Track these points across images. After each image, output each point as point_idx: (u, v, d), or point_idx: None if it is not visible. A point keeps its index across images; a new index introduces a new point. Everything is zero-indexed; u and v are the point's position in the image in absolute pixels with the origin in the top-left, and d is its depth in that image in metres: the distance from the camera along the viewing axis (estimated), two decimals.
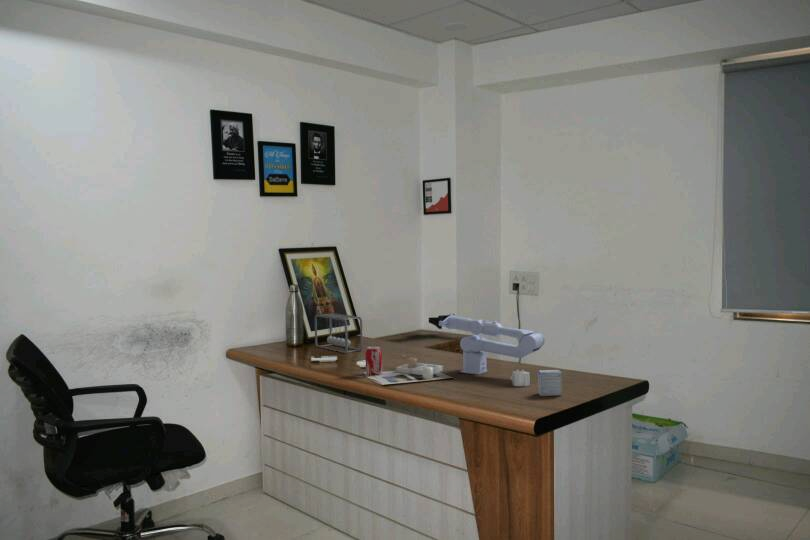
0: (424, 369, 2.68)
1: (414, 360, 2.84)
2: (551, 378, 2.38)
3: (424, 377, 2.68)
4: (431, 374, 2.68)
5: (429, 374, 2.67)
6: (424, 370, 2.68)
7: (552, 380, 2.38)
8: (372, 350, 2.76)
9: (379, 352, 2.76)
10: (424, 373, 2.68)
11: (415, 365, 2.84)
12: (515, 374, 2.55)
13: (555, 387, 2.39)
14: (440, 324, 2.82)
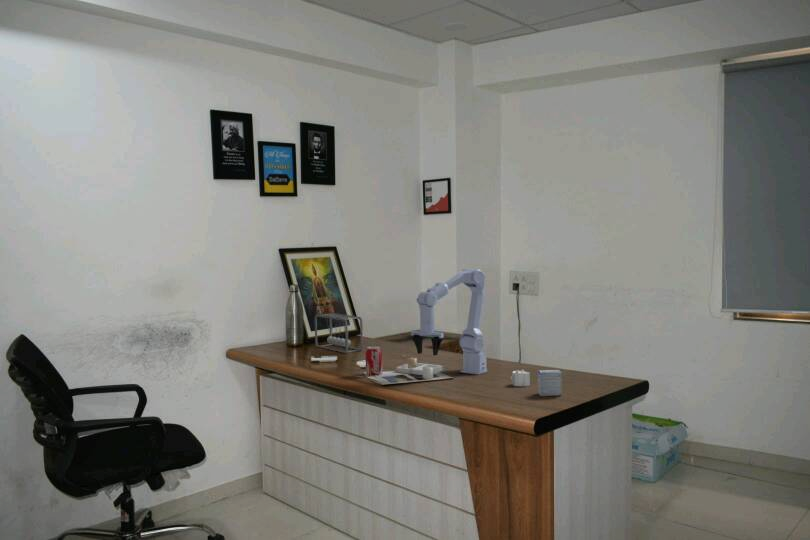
0: (424, 369, 2.68)
1: (414, 360, 2.84)
2: (551, 378, 2.38)
3: (424, 377, 2.68)
4: (431, 374, 2.68)
5: (429, 374, 2.67)
6: (424, 370, 2.68)
7: (552, 380, 2.38)
8: (372, 350, 2.76)
9: (379, 352, 2.76)
10: (424, 373, 2.68)
11: (415, 365, 2.84)
12: (515, 374, 2.55)
13: (555, 387, 2.38)
14: (442, 335, 2.64)
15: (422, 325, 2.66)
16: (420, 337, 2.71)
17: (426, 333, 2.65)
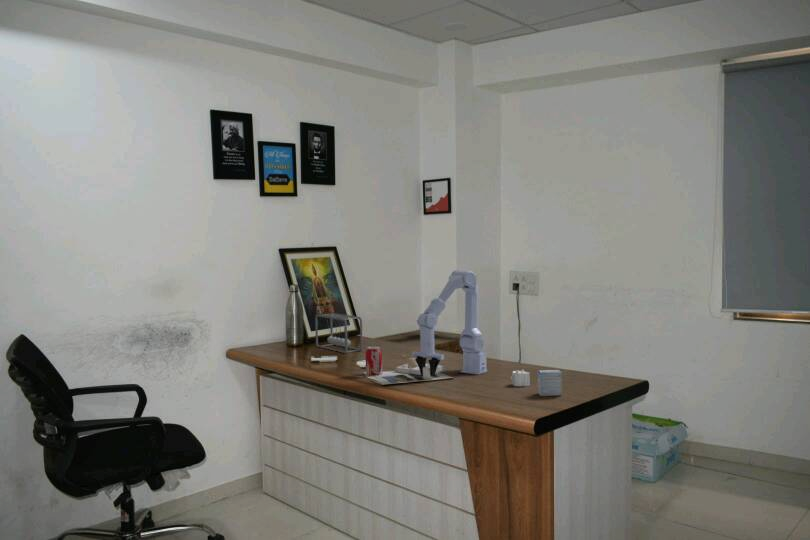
0: (424, 369, 2.68)
1: (414, 360, 2.84)
2: (551, 378, 2.38)
3: (424, 377, 2.68)
4: None
5: (429, 373, 2.67)
6: (424, 370, 2.68)
7: (552, 380, 2.38)
8: (372, 350, 2.76)
9: (379, 352, 2.76)
10: (424, 373, 2.68)
11: (415, 365, 2.84)
12: (515, 374, 2.55)
13: (555, 387, 2.38)
14: (443, 357, 2.65)
15: (422, 347, 2.67)
16: (423, 359, 2.71)
17: (426, 355, 2.66)
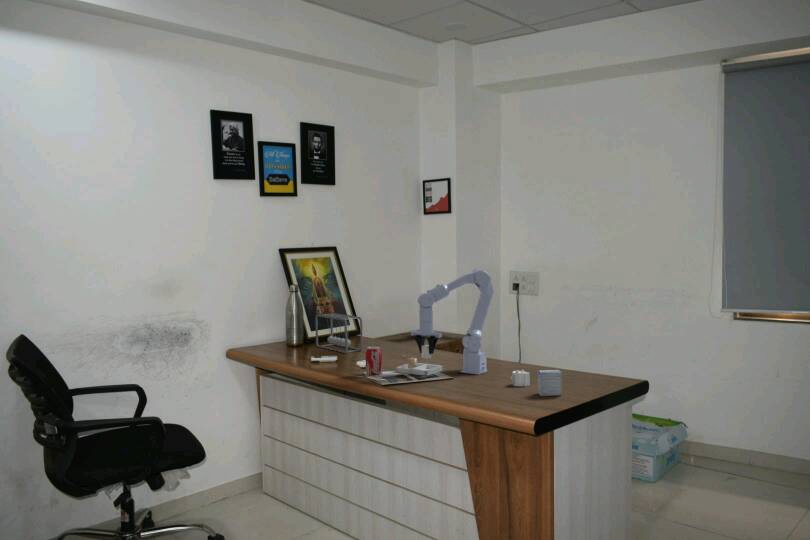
0: (423, 347, 2.78)
1: (414, 360, 2.84)
2: (551, 378, 2.38)
3: (423, 355, 2.78)
4: None
5: (428, 351, 2.77)
6: (423, 348, 2.78)
7: (552, 380, 2.38)
8: (372, 350, 2.76)
9: (379, 352, 2.76)
10: (423, 351, 2.78)
11: (415, 365, 2.84)
12: (515, 374, 2.55)
13: (555, 387, 2.39)
14: (441, 335, 2.75)
15: (421, 325, 2.77)
16: (422, 337, 2.81)
17: (425, 333, 2.76)
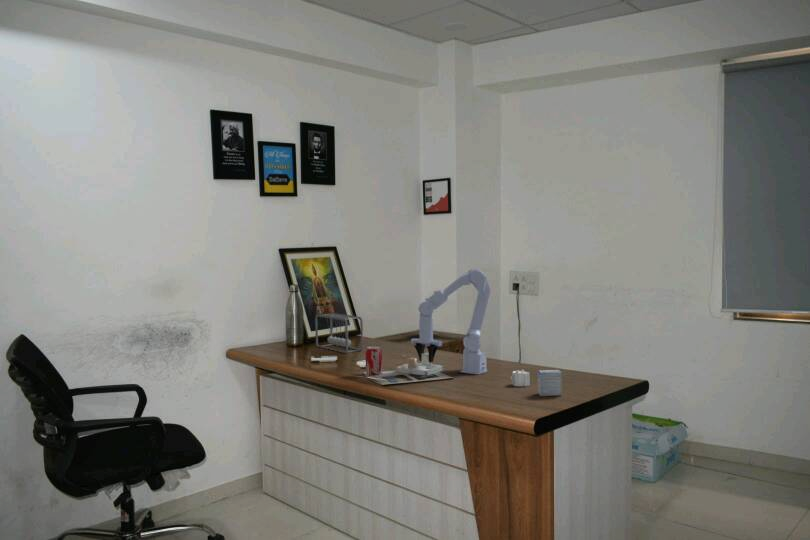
0: (423, 355, 2.80)
1: (414, 360, 2.84)
2: (551, 378, 2.38)
3: (423, 363, 2.80)
4: None
5: (428, 359, 2.79)
6: (423, 356, 2.80)
7: (552, 380, 2.38)
8: (372, 350, 2.76)
9: (379, 352, 2.76)
10: (423, 359, 2.80)
11: (415, 365, 2.84)
12: (515, 374, 2.55)
13: (555, 387, 2.38)
14: (441, 343, 2.77)
15: (421, 334, 2.79)
16: (422, 345, 2.83)
17: (425, 341, 2.78)
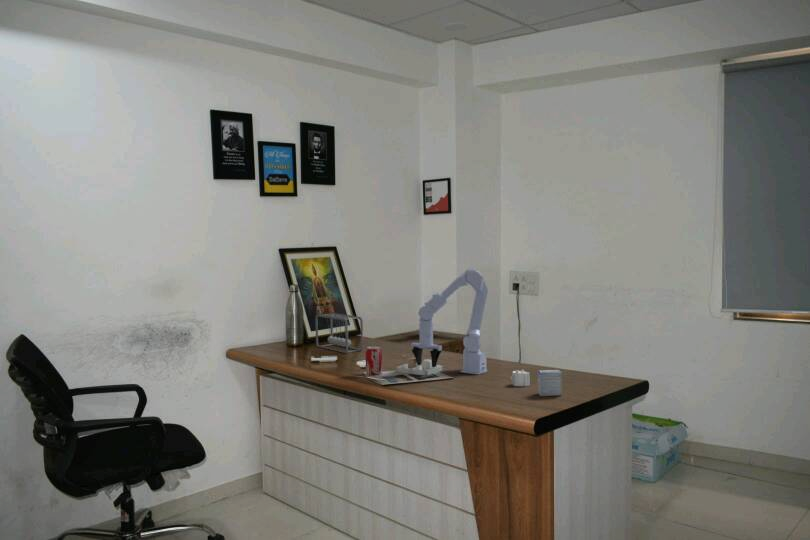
0: (423, 362, 2.80)
1: (414, 360, 2.84)
2: (551, 378, 2.38)
3: (423, 369, 2.80)
4: (430, 366, 2.80)
5: (428, 366, 2.79)
6: (423, 363, 2.80)
7: (552, 380, 2.38)
8: (372, 350, 2.76)
9: (379, 352, 2.76)
10: (423, 365, 2.80)
11: (415, 365, 2.84)
12: (515, 374, 2.55)
13: (555, 387, 2.38)
14: (441, 348, 2.77)
15: (421, 338, 2.79)
16: (419, 349, 2.84)
17: (425, 346, 2.78)
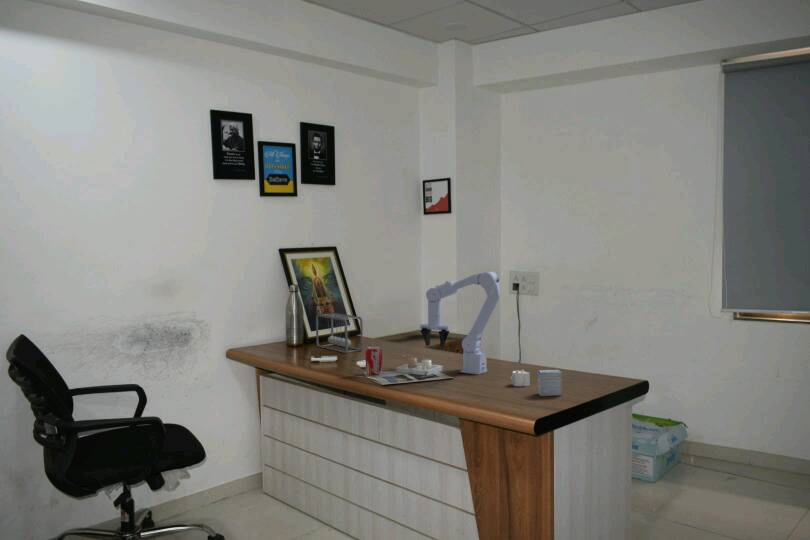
0: (423, 362, 2.80)
1: (414, 360, 2.84)
2: (551, 378, 2.38)
3: (423, 369, 2.80)
4: (430, 366, 2.80)
5: (428, 366, 2.79)
6: (423, 363, 2.80)
7: (552, 380, 2.38)
8: (372, 350, 2.76)
9: (379, 352, 2.76)
10: (423, 365, 2.80)
11: (415, 365, 2.84)
12: (515, 374, 2.55)
13: (555, 387, 2.38)
14: (449, 328, 2.84)
15: (430, 319, 2.85)
16: (428, 330, 2.90)
17: (434, 326, 2.85)
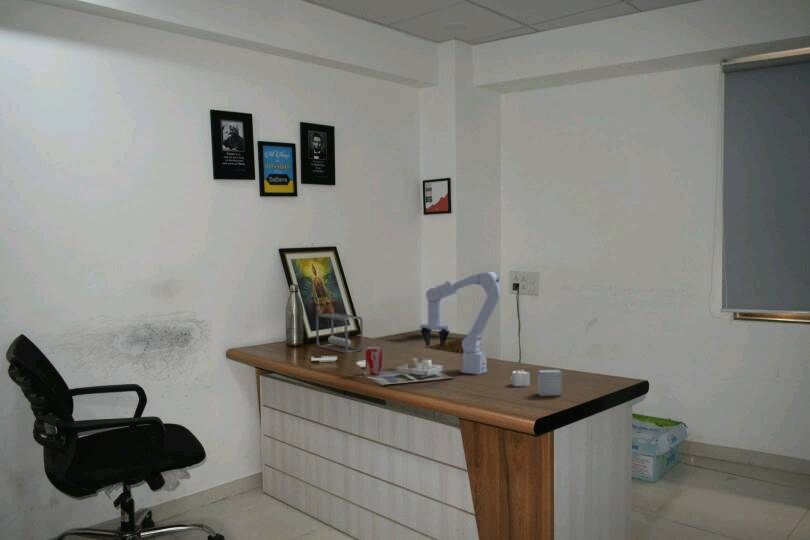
0: (423, 362, 2.80)
1: (414, 360, 2.84)
2: (551, 378, 2.38)
3: (423, 369, 2.80)
4: (430, 366, 2.80)
5: (428, 366, 2.79)
6: (423, 363, 2.80)
7: (552, 380, 2.38)
8: (372, 350, 2.76)
9: (379, 352, 2.76)
10: (423, 365, 2.80)
11: (415, 365, 2.84)
12: (515, 374, 2.55)
13: (555, 387, 2.39)
14: (449, 328, 2.84)
15: (430, 319, 2.85)
16: (428, 330, 2.90)
17: (434, 326, 2.85)
